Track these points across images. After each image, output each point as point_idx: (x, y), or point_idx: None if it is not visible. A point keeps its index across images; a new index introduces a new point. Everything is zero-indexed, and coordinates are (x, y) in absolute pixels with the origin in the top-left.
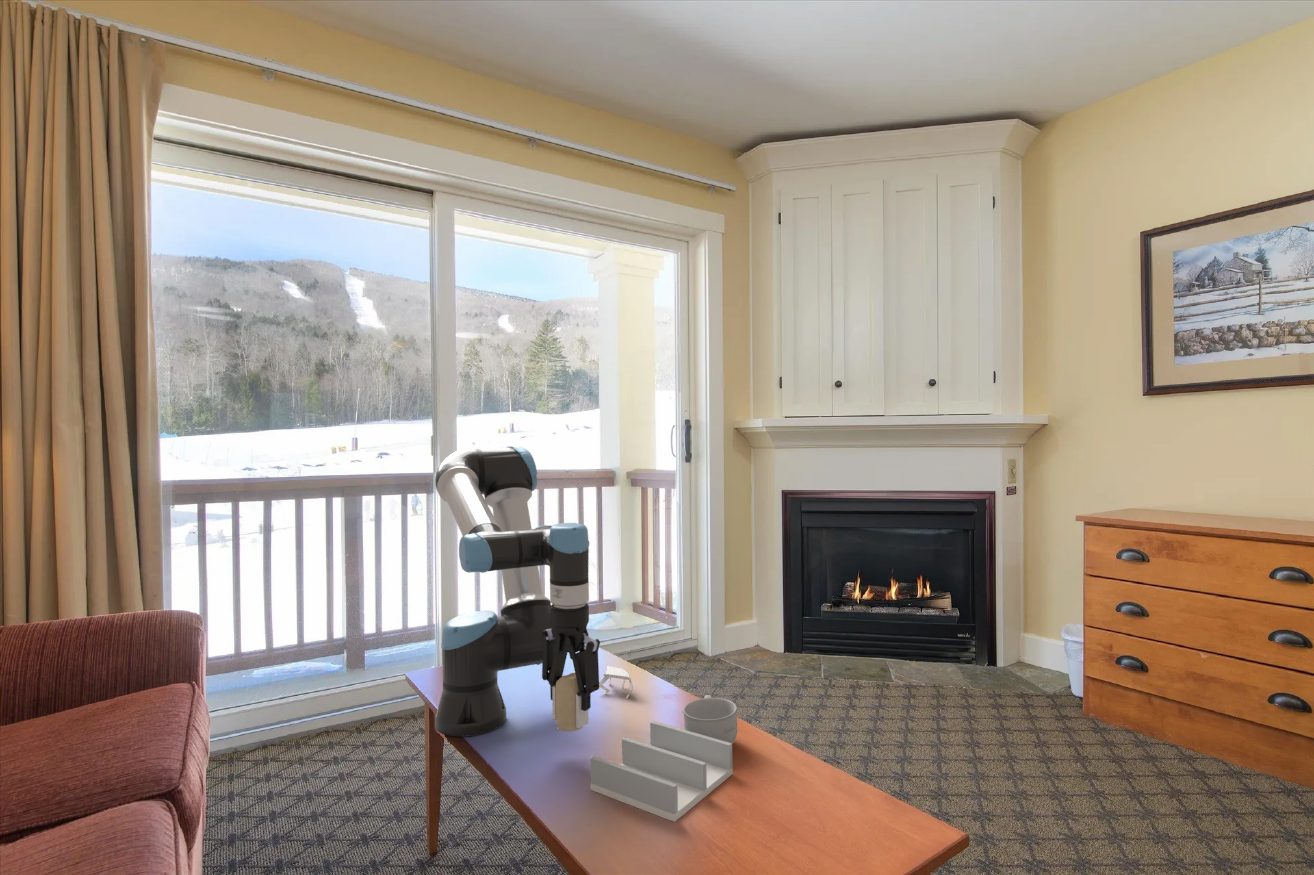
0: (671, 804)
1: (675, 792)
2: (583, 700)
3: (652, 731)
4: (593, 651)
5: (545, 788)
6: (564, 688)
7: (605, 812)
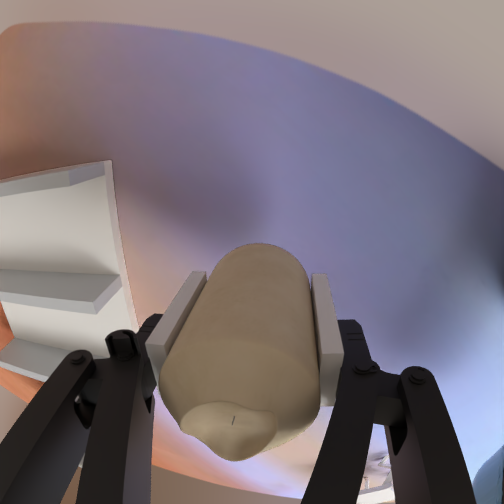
0: None
1: None
2: (145, 338)
3: None
4: None
5: (198, 94)
6: (200, 338)
7: (44, 123)
